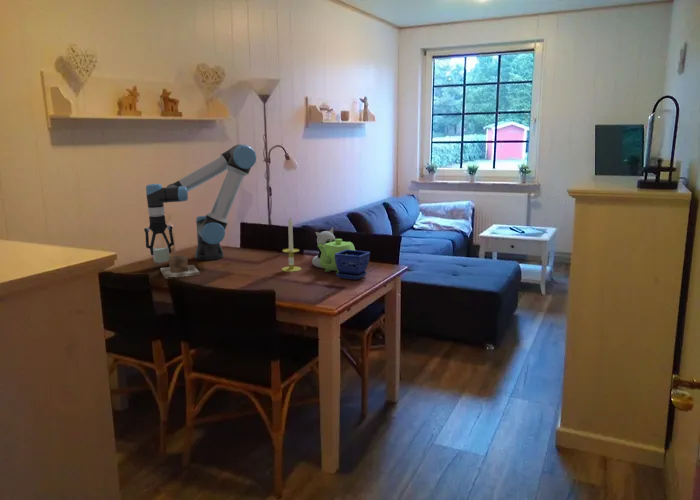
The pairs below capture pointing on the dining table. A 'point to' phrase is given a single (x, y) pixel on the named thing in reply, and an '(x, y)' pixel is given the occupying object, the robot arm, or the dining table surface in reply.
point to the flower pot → (352, 264)
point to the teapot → (332, 253)
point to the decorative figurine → (323, 239)
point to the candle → (291, 250)
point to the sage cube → (161, 255)
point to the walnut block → (178, 263)
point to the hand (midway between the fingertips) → (161, 260)
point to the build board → (191, 272)
